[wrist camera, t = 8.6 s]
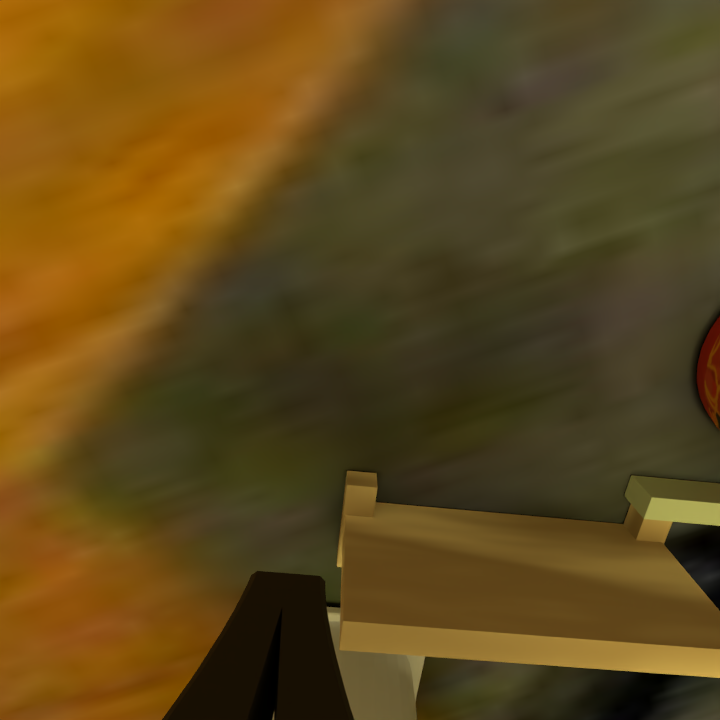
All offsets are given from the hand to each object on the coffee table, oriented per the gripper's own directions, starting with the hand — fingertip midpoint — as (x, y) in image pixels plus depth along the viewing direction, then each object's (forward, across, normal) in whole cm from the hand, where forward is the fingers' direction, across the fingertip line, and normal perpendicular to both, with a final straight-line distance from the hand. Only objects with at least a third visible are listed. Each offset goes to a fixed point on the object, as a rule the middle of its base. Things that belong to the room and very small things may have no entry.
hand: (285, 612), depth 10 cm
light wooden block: (+10, -8, +5) cm, 14 cm away
